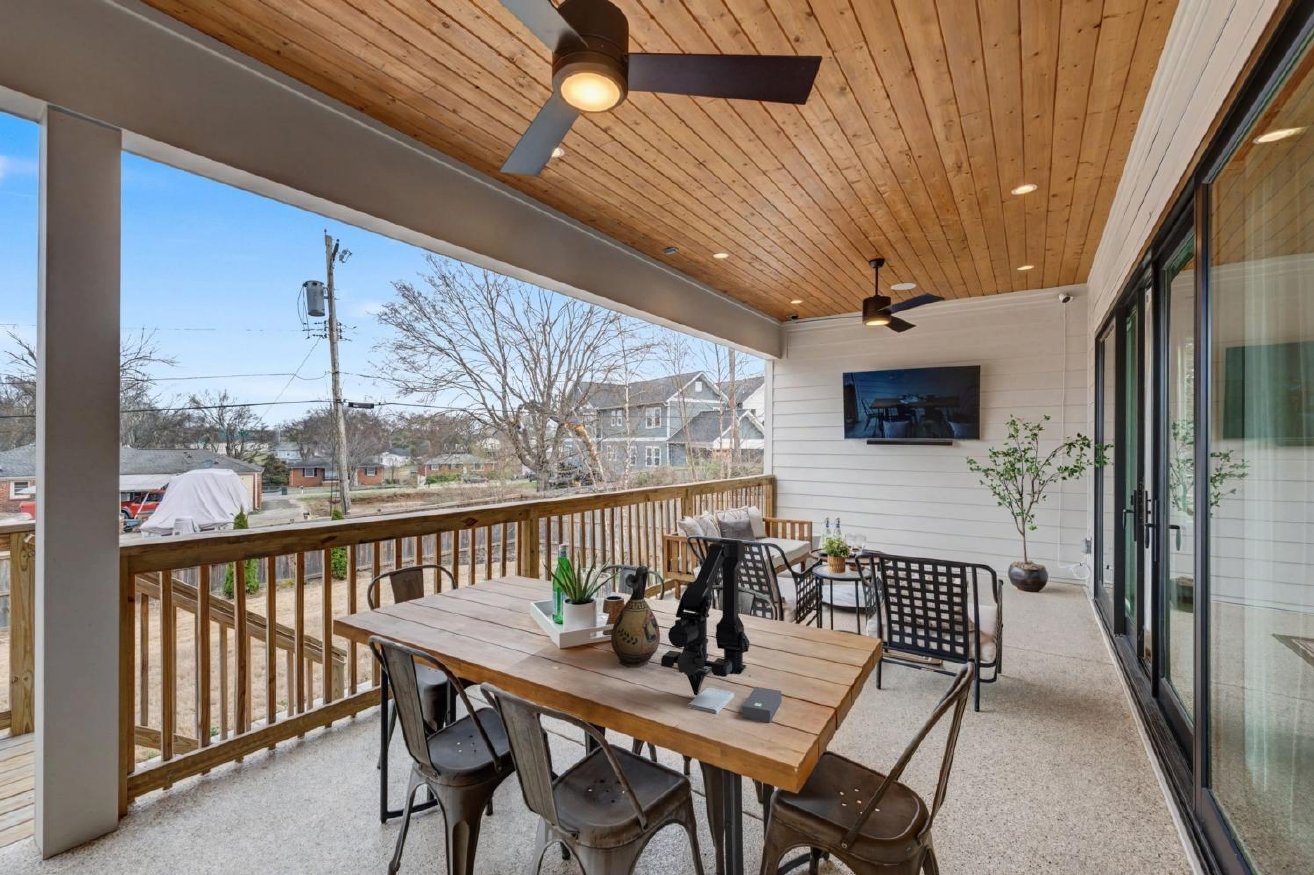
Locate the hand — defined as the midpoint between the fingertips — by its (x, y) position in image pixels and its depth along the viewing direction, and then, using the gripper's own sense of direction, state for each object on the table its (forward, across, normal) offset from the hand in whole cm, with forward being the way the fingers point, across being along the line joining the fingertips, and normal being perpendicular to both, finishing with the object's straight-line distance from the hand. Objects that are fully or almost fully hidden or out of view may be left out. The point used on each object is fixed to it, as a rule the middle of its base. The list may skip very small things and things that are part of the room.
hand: (696, 694), depth 160 cm
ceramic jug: (+1, -27, +18) cm, 32 cm away
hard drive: (+2, +4, 0) cm, 5 cm away
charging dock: (+1, +18, 0) cm, 18 cm away
